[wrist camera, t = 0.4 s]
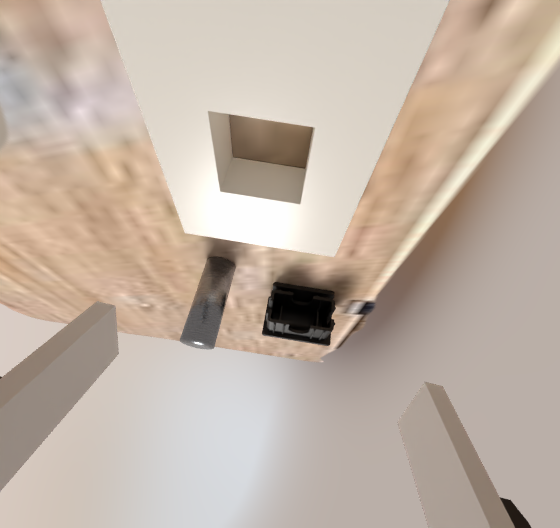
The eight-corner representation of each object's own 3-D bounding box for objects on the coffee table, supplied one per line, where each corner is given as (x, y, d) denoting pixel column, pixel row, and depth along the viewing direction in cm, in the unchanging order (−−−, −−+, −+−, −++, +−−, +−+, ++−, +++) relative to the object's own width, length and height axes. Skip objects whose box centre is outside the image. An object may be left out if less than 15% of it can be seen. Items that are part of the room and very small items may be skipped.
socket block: (123, -88, 12) (75, -70, 10) (437, -42, 12) (455, -14, 10) (198, 201, 27) (185, 232, 25) (336, 224, 27) (334, 257, 25)
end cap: (268, 300, 46) (261, 340, 42) (270, 280, 40) (262, 325, 36) (328, 310, 46) (325, 350, 42) (338, 291, 40) (336, 337, 36)
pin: (204, 254, 36) (175, 336, 30) (234, 259, 36) (211, 342, 30) (209, 269, 39) (184, 345, 34) (236, 274, 39) (216, 351, 34)
